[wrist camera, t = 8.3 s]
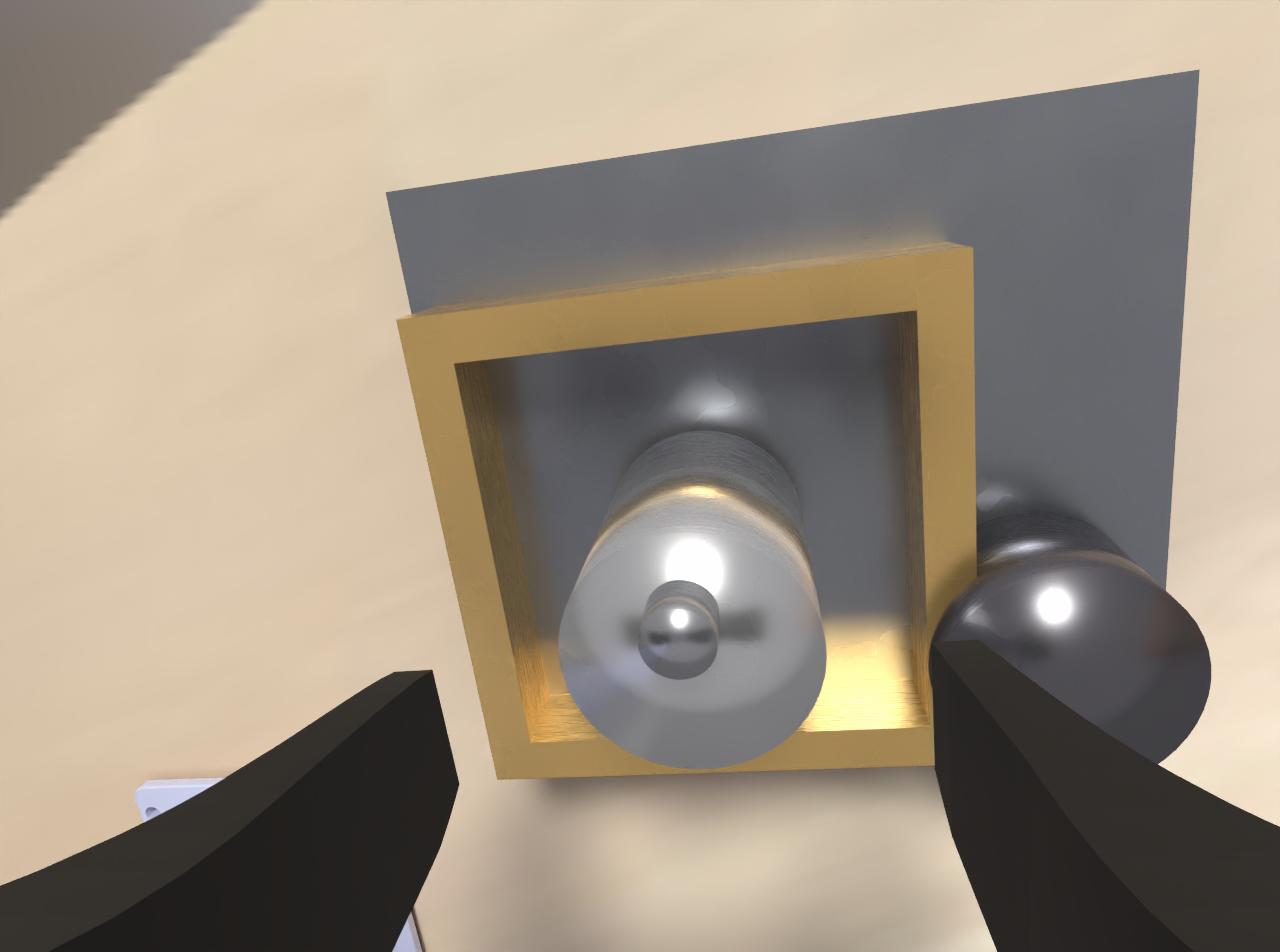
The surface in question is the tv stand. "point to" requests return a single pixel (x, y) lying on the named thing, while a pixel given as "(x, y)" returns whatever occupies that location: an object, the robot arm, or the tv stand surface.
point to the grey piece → (833, 400)
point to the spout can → (697, 608)
